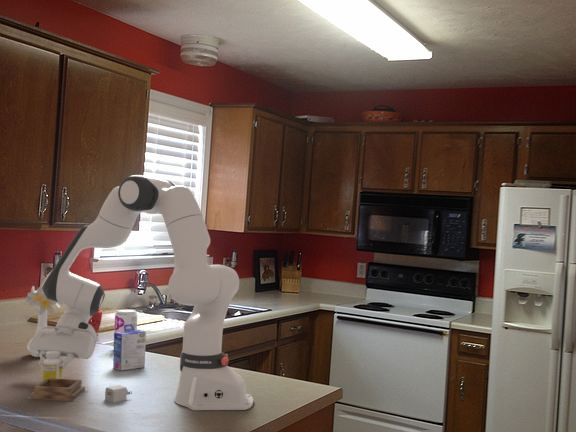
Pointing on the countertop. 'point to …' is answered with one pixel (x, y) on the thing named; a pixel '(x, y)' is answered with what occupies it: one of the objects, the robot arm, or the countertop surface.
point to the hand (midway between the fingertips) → (51, 366)
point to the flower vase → (41, 308)
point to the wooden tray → (58, 389)
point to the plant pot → (96, 321)
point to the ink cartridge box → (129, 349)
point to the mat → (63, 400)
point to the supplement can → (125, 320)
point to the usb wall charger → (116, 393)
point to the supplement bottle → (52, 365)
